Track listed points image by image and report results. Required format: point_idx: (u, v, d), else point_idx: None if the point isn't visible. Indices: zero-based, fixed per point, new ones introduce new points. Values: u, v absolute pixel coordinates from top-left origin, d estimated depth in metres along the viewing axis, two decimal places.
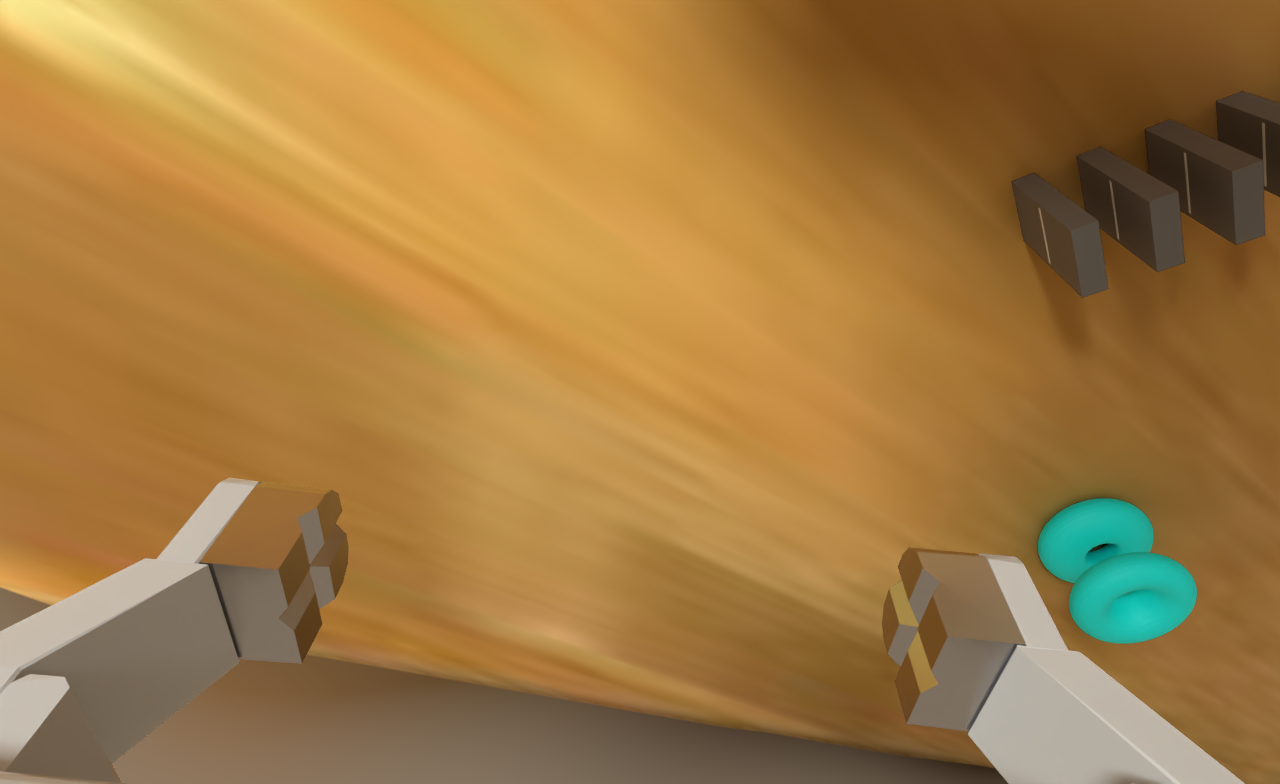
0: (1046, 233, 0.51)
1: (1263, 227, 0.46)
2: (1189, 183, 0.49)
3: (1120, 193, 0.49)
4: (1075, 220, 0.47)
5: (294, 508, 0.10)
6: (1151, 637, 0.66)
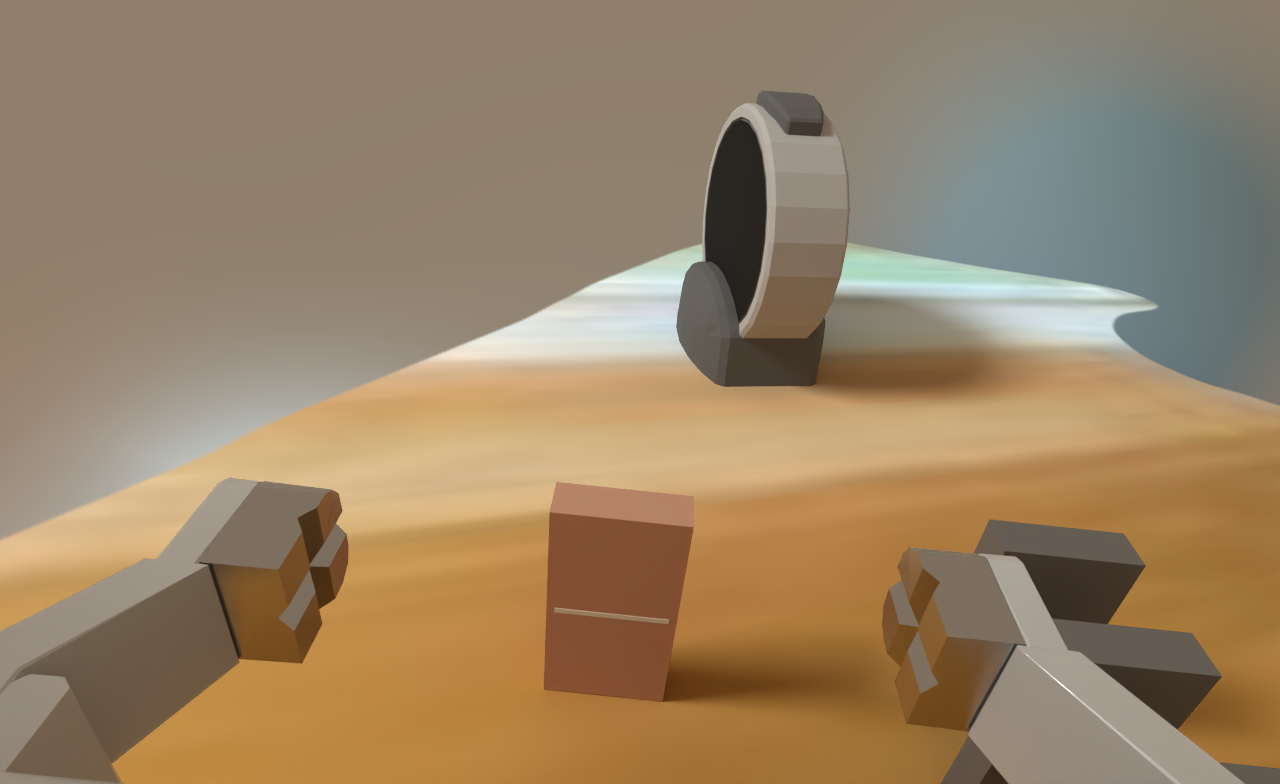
0: None
1: (1266, 769, 0.20)
2: None
3: None
4: None
5: (294, 508, 0.10)
6: None
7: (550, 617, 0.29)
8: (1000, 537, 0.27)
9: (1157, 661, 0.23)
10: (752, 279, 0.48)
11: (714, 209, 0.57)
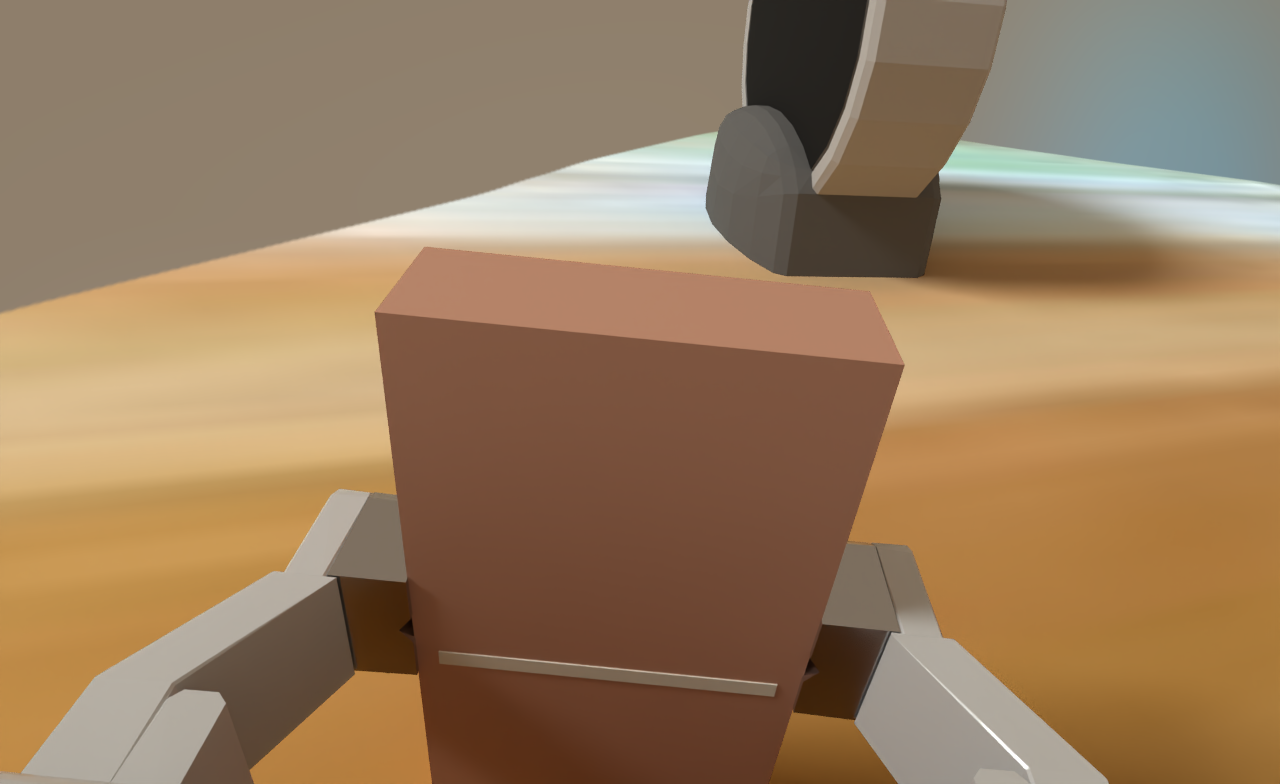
0: None
1: None
2: None
3: None
4: None
5: None
6: None
7: (431, 677, 0.10)
8: None
9: None
10: (841, 83, 0.29)
11: (763, 24, 0.38)
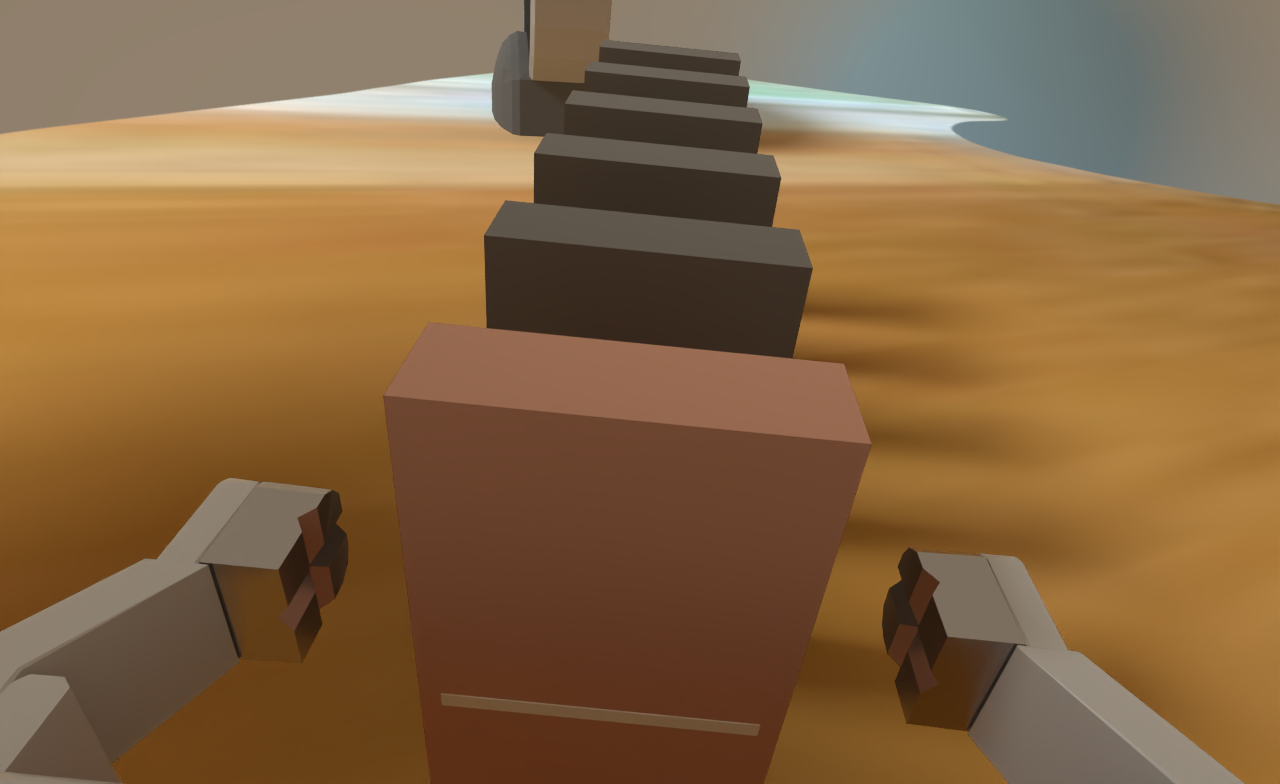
0: None
1: None
2: None
3: None
4: None
5: (294, 508, 0.10)
6: None
7: (434, 717, 0.11)
8: (604, 45, 0.27)
9: (690, 79, 0.23)
10: None
11: None
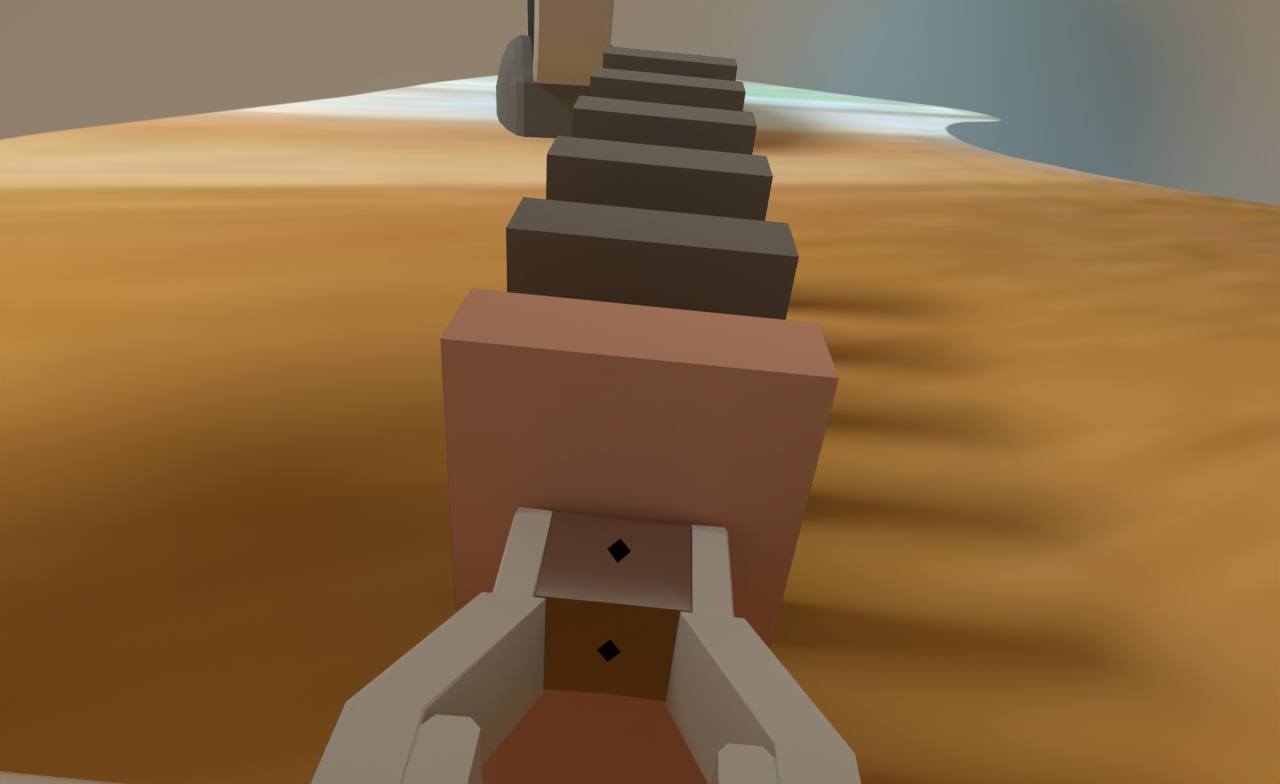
0: None
1: (732, 111, 0.22)
2: None
3: None
4: None
5: (600, 539, 0.10)
6: None
7: None
8: (608, 51, 0.28)
9: (689, 84, 0.24)
10: None
11: None
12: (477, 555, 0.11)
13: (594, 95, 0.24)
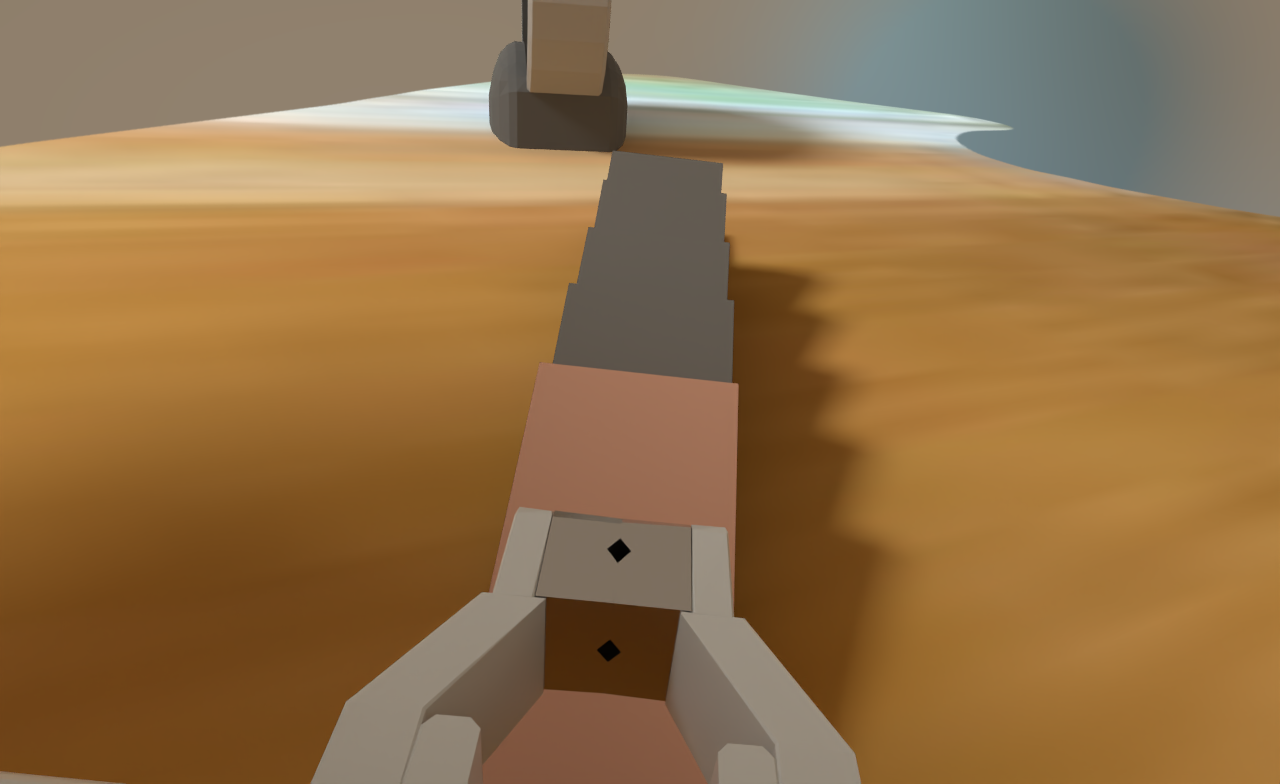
0: None
1: None
2: None
3: None
4: None
5: (599, 539, 0.10)
6: None
7: None
8: None
9: None
10: (527, 17, 0.47)
11: None
12: (528, 489, 0.17)
13: (614, 159, 0.34)
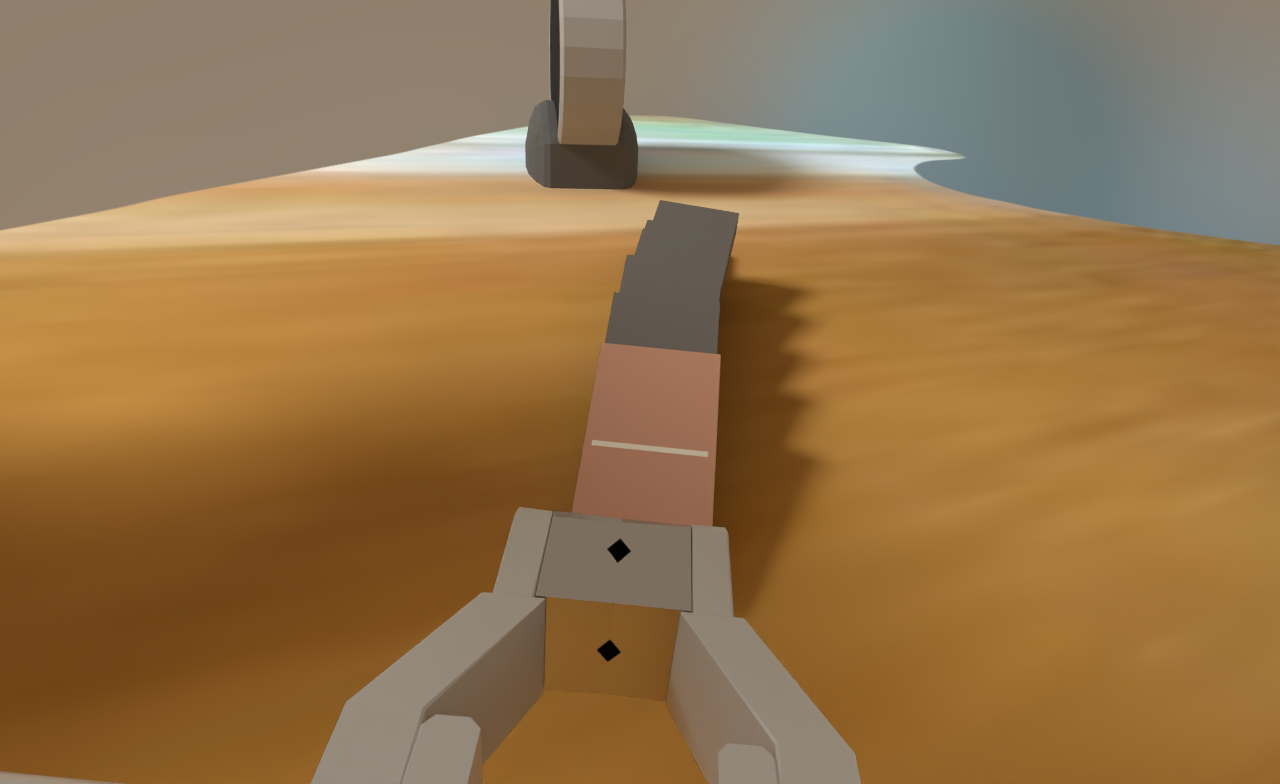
0: None
1: None
2: None
3: None
4: None
5: (599, 539, 0.10)
6: None
7: (586, 452, 0.28)
8: None
9: None
10: None
11: (551, 56, 0.69)
12: (598, 412, 0.29)
13: (660, 206, 0.47)
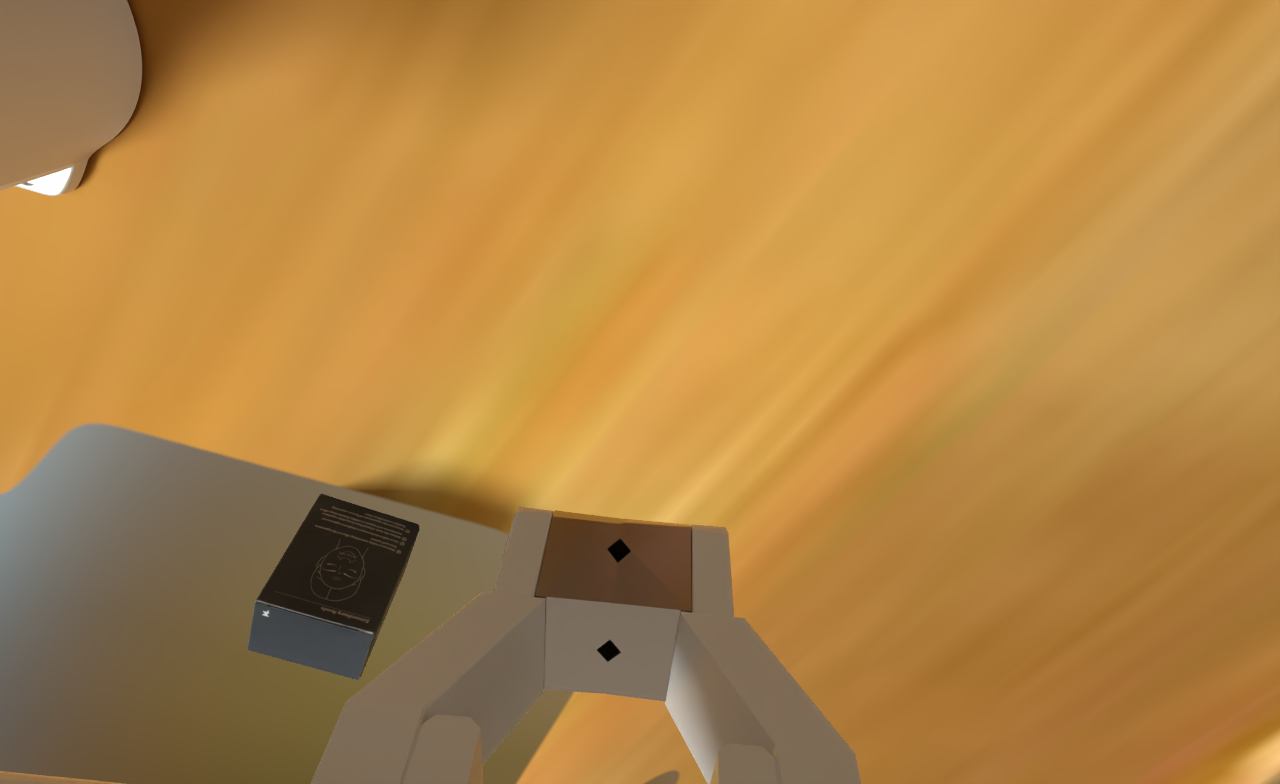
0: None
1: None
2: None
3: None
4: None
5: (600, 538, 0.10)
6: None
7: None
8: None
9: None
10: None
11: None
12: None
13: None
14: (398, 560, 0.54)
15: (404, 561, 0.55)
